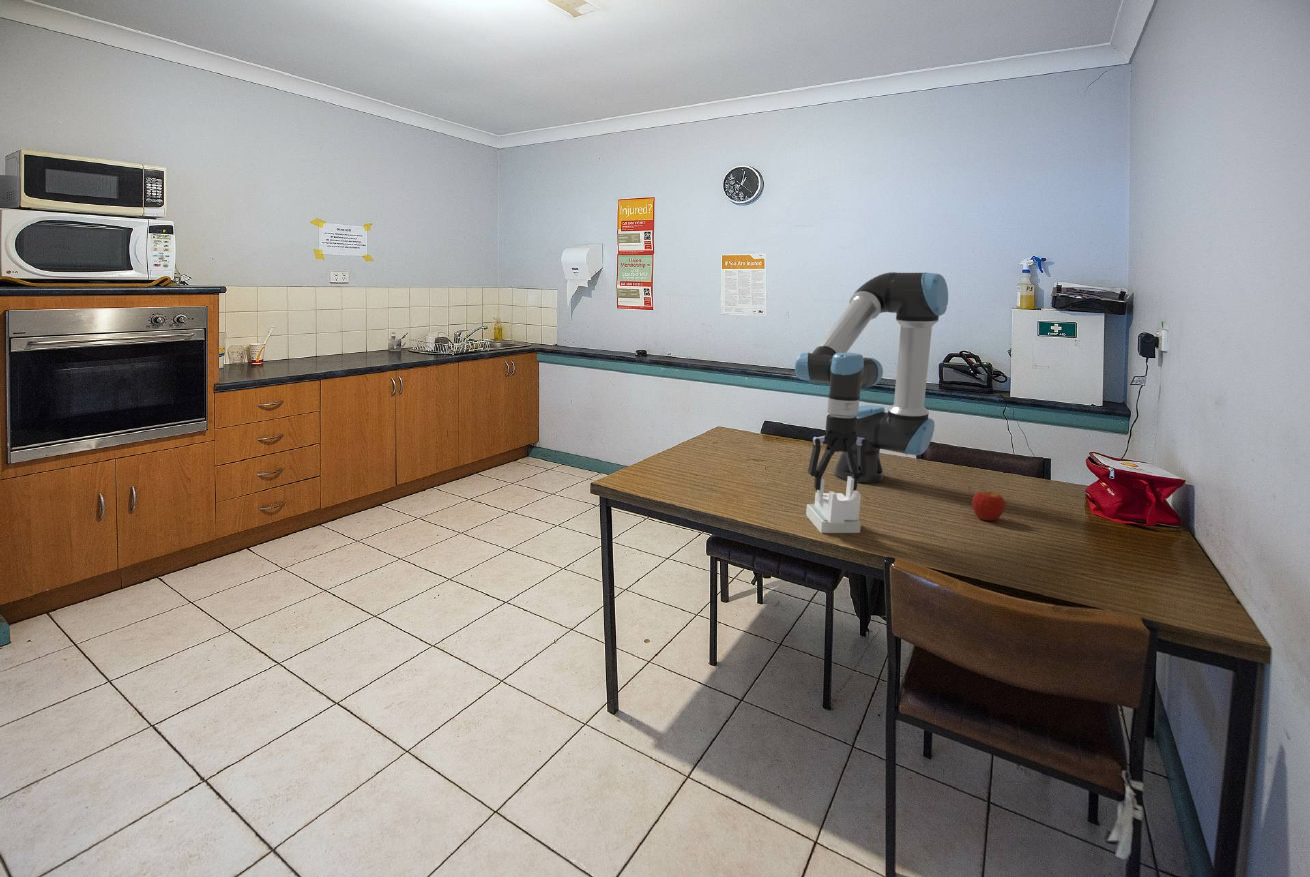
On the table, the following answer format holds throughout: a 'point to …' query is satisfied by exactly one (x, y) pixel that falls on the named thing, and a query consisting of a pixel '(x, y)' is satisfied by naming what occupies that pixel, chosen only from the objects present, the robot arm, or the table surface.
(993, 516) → the apple
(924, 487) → the table surface
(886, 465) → the table surface
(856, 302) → the robot arm
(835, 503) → the bracket
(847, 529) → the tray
